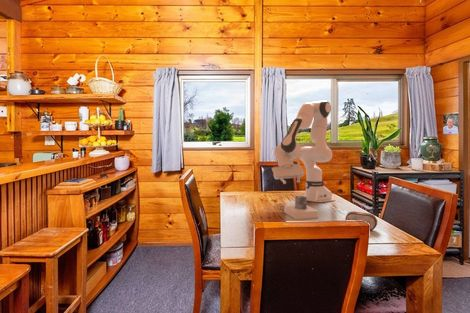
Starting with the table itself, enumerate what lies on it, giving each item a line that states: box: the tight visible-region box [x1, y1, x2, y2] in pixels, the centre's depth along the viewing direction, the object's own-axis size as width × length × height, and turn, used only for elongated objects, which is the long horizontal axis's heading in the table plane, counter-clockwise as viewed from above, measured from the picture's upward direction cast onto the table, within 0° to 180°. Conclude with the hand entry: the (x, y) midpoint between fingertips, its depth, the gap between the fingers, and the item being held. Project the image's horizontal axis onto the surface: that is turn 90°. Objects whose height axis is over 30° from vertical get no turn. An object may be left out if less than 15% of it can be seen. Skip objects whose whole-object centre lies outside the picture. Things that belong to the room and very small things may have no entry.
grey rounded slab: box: [345, 211, 378, 231], centre depth 158 cm, size 15×3×8 cm, turn 59°
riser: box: [283, 204, 319, 220], centre depth 185 cm, size 14×16×4 cm
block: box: [294, 195, 308, 209], centre depth 185 cm, size 5×5×7 cm
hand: (292, 182), depth 200 cm, fingers open, 8 cm apart
